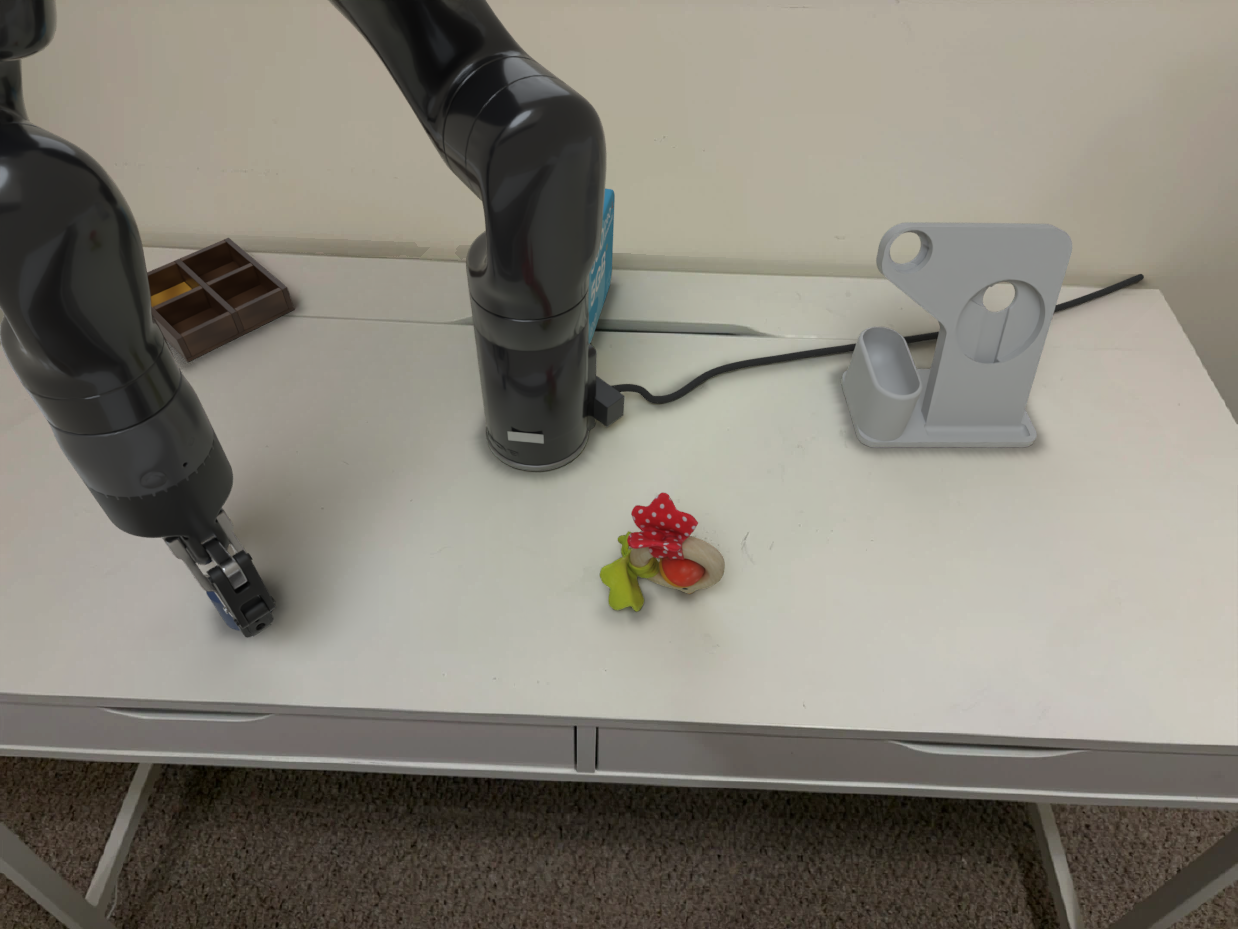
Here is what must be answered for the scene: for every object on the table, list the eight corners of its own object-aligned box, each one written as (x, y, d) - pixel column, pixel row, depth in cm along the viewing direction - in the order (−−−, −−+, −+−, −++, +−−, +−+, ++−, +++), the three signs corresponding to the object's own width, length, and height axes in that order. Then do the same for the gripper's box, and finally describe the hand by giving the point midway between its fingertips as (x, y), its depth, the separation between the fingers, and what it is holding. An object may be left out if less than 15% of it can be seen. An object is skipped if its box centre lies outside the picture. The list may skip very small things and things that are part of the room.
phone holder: (856, 447, 77) (916, 291, 63) (834, 372, 83) (884, 215, 69) (1038, 447, 77) (1136, 293, 64) (1002, 372, 84) (1084, 218, 70)
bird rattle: (686, 569, 70) (589, 535, 67) (759, 501, 62) (652, 460, 59) (683, 635, 66) (580, 602, 63) (761, 572, 58) (646, 531, 55)
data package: (588, 351, 84) (589, 252, 74) (545, 344, 84) (541, 245, 75) (611, 280, 91) (615, 182, 82) (572, 274, 92) (571, 176, 83)
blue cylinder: (257, 581, 65) (241, 553, 62) (281, 610, 63) (266, 582, 60) (214, 609, 63) (196, 581, 60) (238, 639, 62) (221, 612, 59)
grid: (237, 259, 91) (228, 237, 89) (294, 309, 86) (287, 287, 84) (132, 305, 86) (120, 283, 83) (187, 362, 81) (176, 339, 78)
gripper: (264, 479, 48) (326, 621, 60) (152, 355, 54) (228, 507, 66) (135, 552, 44) (229, 687, 56) (30, 410, 50) (135, 560, 62)
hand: (229, 590), depth 61 cm, fingers open, 8 cm apart
